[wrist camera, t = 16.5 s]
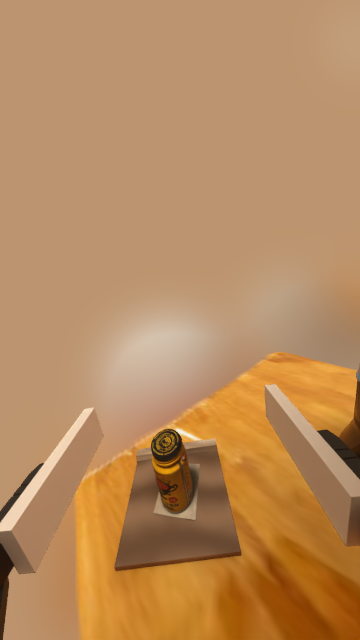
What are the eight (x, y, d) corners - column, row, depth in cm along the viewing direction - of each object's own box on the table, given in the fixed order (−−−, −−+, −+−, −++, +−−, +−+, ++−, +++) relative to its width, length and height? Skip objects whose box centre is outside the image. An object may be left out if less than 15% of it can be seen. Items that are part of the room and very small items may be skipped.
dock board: (241, 555, 24) (240, 544, 23) (115, 570, 24) (111, 560, 24) (216, 446, 39) (214, 438, 39) (139, 457, 40) (137, 449, 39)
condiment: (153, 514, 29) (138, 459, 26) (166, 462, 37) (156, 416, 34) (195, 521, 27) (184, 464, 25) (200, 465, 35) (192, 417, 33)
